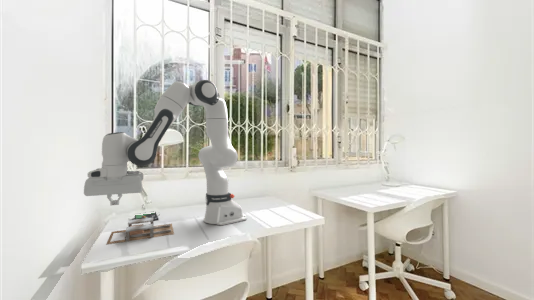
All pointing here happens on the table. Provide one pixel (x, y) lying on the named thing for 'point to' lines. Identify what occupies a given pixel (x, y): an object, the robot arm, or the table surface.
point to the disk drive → (147, 216)
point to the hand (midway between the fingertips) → (114, 204)
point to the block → (136, 231)
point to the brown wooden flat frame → (148, 231)
